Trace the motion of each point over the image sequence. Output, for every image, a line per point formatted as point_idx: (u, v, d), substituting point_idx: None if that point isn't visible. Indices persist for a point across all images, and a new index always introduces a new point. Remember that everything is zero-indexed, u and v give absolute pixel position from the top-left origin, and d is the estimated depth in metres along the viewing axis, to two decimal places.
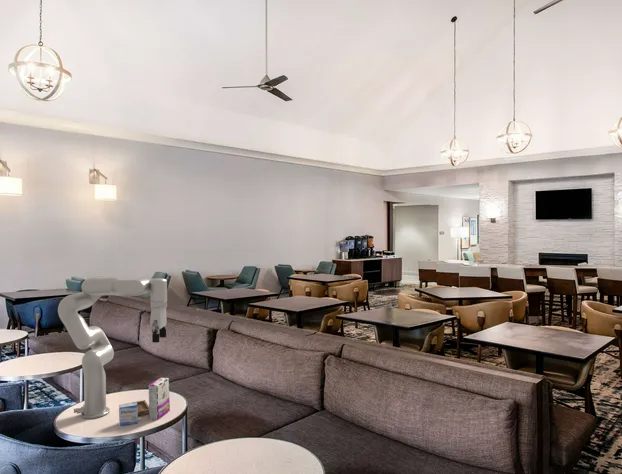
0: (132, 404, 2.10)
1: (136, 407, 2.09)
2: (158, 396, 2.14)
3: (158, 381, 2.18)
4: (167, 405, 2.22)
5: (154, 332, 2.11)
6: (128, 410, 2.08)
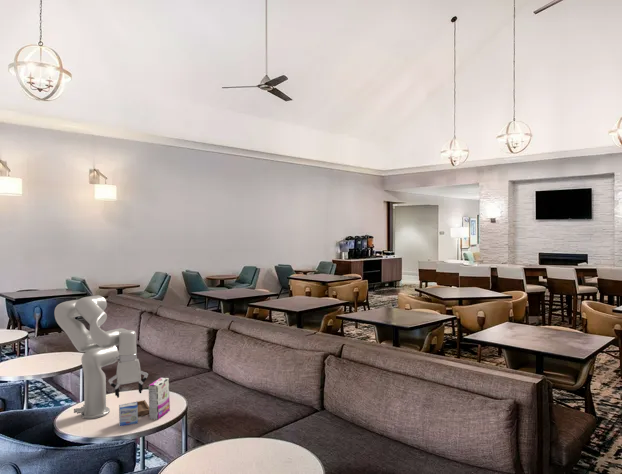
0: (132, 404, 2.10)
1: (136, 407, 2.09)
2: (158, 396, 2.14)
3: (158, 381, 2.18)
4: (167, 405, 2.22)
5: None
6: (128, 410, 2.08)
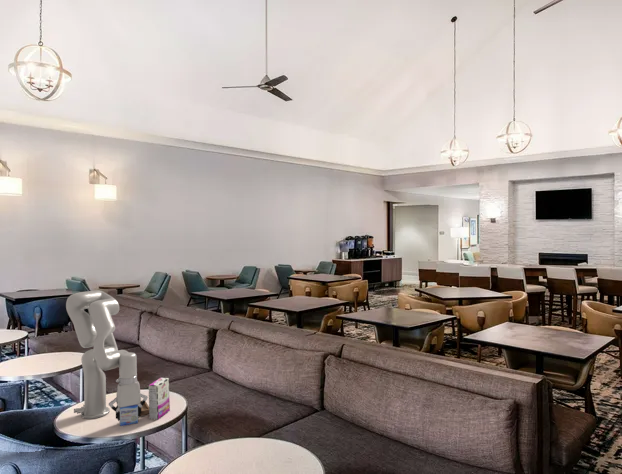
0: None
1: (136, 407, 2.09)
2: (158, 396, 2.14)
3: (158, 381, 2.18)
4: (167, 405, 2.22)
5: None
6: (129, 409, 2.08)
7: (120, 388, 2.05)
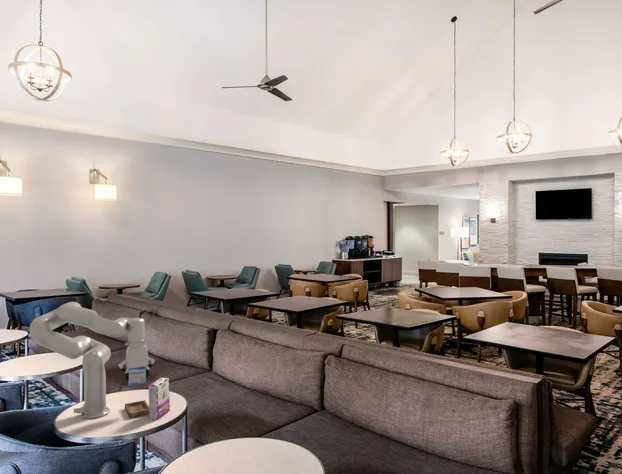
0: None
1: (144, 369, 2.22)
2: (158, 396, 2.14)
3: (158, 381, 2.18)
4: (167, 405, 2.22)
5: None
6: (137, 371, 2.21)
7: (129, 350, 2.19)
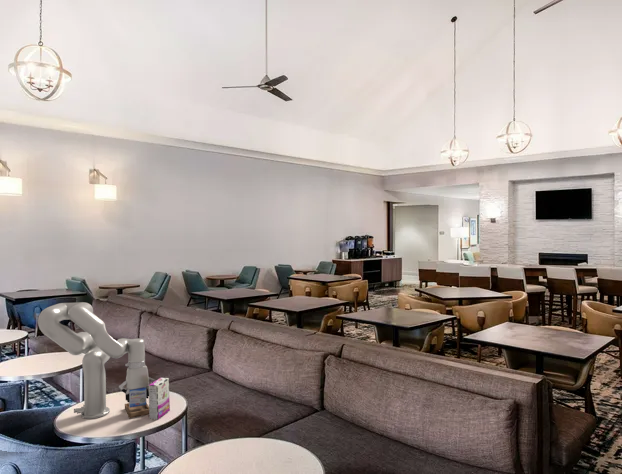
0: None
1: (145, 389, 2.22)
2: (158, 396, 2.14)
3: (158, 381, 2.18)
4: (167, 405, 2.22)
5: None
6: (137, 392, 2.21)
7: (129, 372, 2.19)
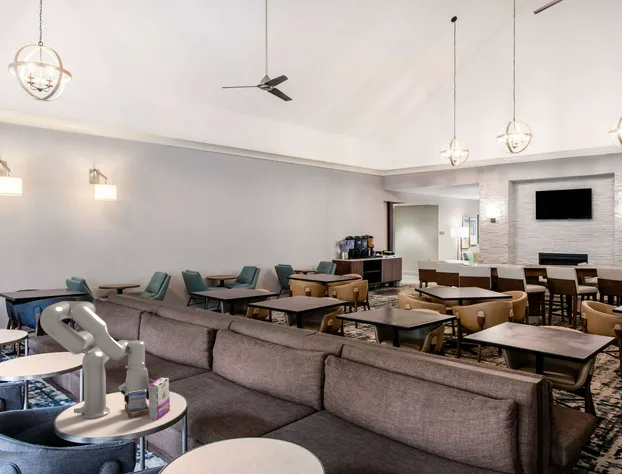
0: (140, 391, 2.23)
1: (145, 394, 2.23)
2: (158, 396, 2.14)
3: (158, 381, 2.18)
4: (167, 405, 2.22)
5: None
6: (138, 397, 2.21)
7: (129, 373, 2.19)
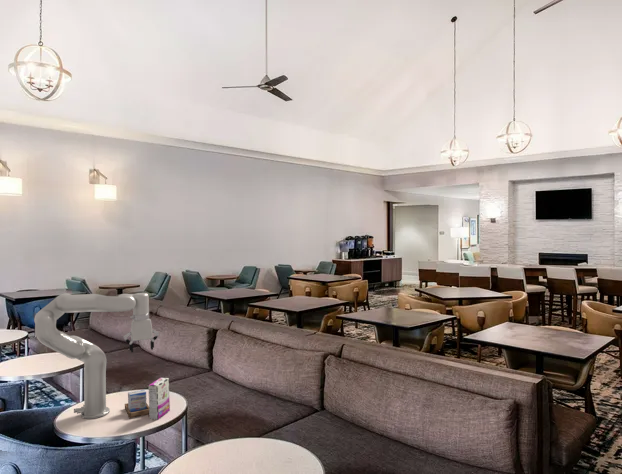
0: (141, 391, 2.23)
1: (145, 394, 2.23)
2: (158, 396, 2.14)
3: (158, 381, 2.18)
4: (167, 405, 2.22)
5: None
6: (138, 396, 2.21)
7: (134, 323, 2.29)
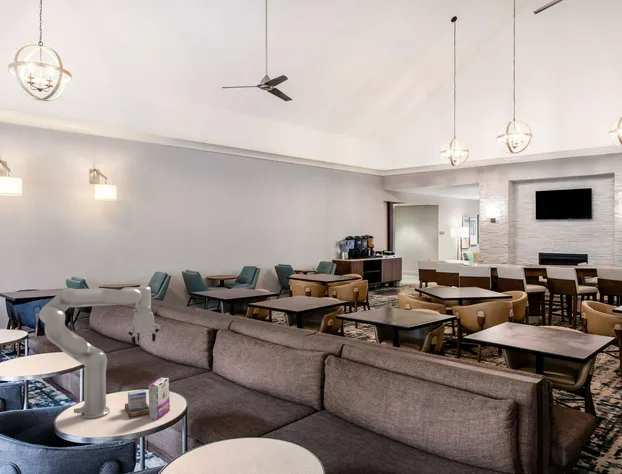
0: (141, 391, 2.23)
1: (145, 394, 2.23)
2: (158, 396, 2.14)
3: (158, 381, 2.18)
4: (167, 405, 2.22)
5: None
6: (138, 396, 2.21)
7: (136, 316, 2.34)
